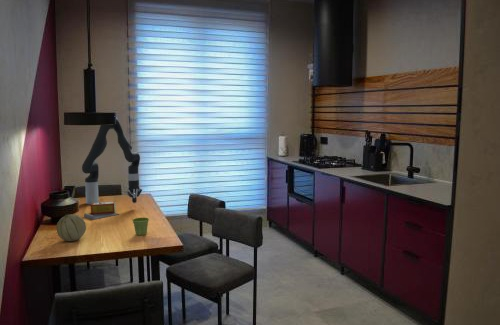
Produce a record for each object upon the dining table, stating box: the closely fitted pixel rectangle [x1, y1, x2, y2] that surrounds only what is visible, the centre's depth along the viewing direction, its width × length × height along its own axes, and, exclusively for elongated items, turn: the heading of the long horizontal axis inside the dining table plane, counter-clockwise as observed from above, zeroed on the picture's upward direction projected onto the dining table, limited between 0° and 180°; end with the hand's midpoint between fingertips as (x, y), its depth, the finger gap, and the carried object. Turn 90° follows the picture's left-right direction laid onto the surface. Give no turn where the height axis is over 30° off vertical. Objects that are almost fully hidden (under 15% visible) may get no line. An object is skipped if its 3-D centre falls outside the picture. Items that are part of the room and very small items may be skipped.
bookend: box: [83, 212, 120, 221], centre depth 283 cm, size 12×19×2 cm, turn 139°
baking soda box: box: [90, 201, 117, 215], centre depth 292 cm, size 10×6×16 cm
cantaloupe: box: [56, 213, 87, 242], centre depth 225 cm, size 15×15×15 cm
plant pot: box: [132, 217, 150, 236], centre depth 237 cm, size 9×9×9 cm
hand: (134, 202), depth 304 cm, fingers closed
